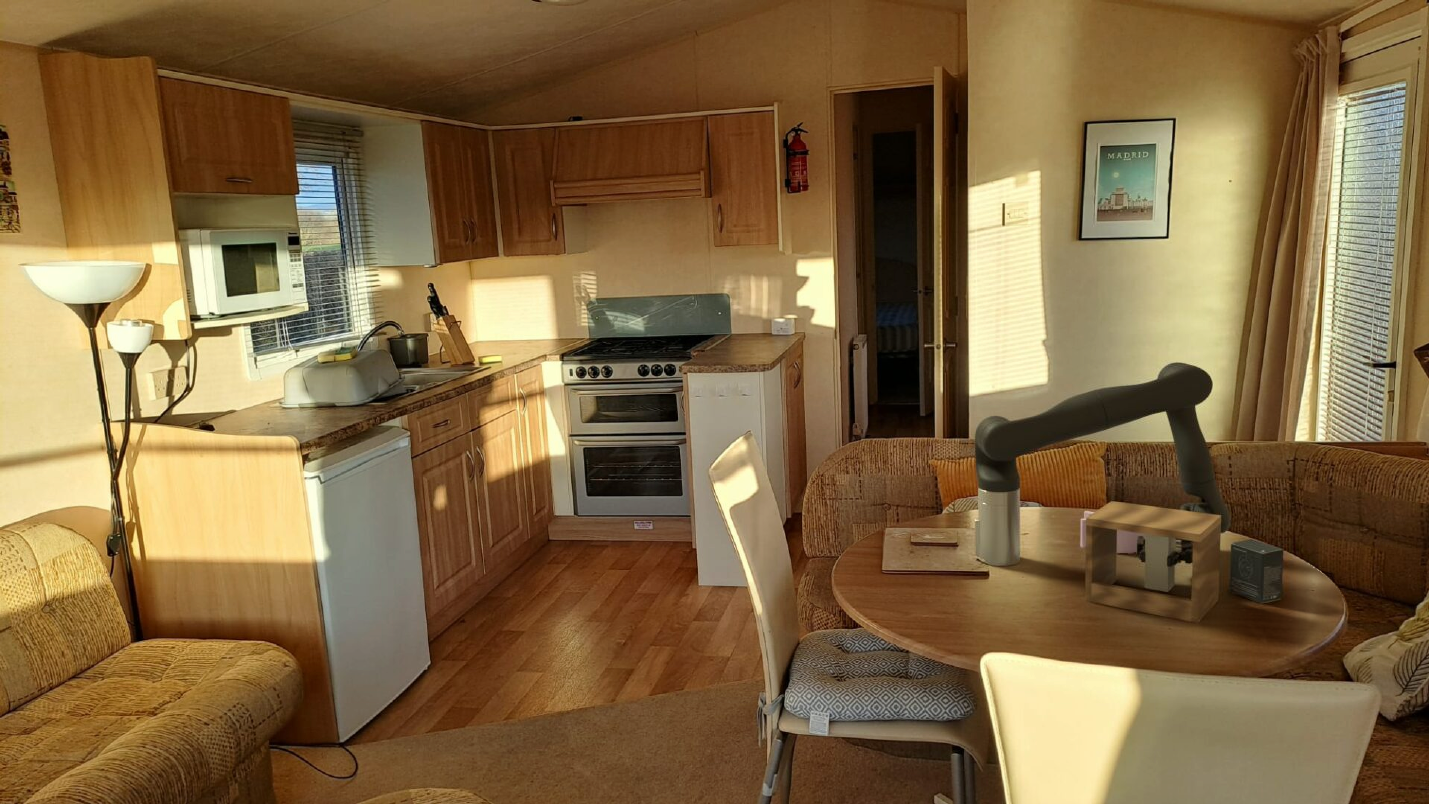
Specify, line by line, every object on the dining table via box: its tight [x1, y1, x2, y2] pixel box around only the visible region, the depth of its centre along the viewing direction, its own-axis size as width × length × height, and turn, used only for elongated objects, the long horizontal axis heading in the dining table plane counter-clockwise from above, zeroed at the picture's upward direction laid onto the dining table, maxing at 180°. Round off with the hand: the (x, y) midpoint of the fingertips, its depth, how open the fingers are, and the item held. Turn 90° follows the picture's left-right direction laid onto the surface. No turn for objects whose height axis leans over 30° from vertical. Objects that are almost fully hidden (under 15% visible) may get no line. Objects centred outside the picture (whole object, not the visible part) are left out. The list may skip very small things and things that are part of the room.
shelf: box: [1084, 500, 1222, 624], centre depth 204 cm, size 21×14×18 cm
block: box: [1144, 534, 1176, 593], centre depth 208 cm, size 4×4×12 cm
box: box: [1229, 539, 1284, 604], centre depth 204 cm, size 8×6×11 cm
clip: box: [1080, 510, 1145, 554], centre depth 238 cm, size 20×12×7 cm, turn 63°
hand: (1155, 559), depth 206 cm, fingers closed on block, 4 cm apart
